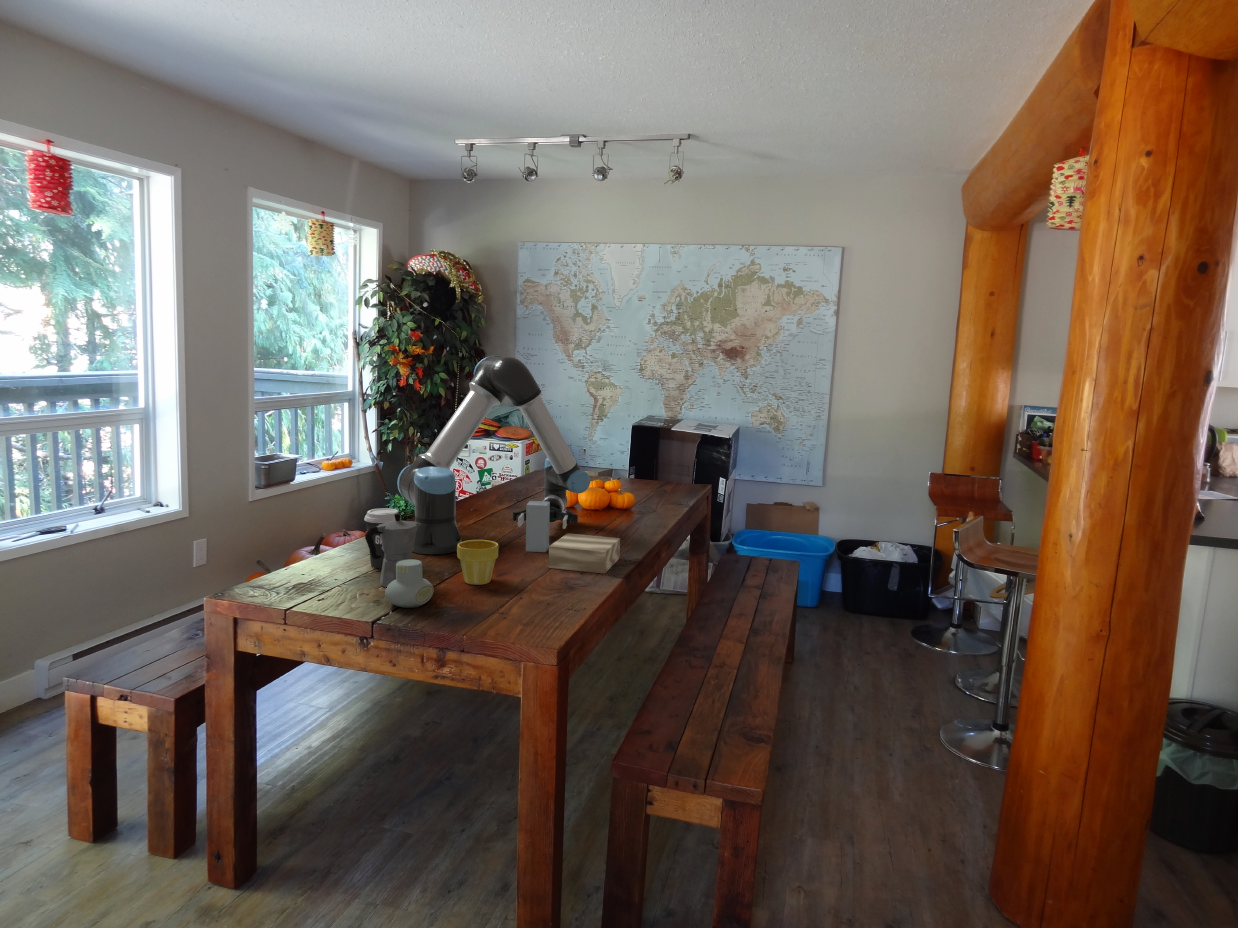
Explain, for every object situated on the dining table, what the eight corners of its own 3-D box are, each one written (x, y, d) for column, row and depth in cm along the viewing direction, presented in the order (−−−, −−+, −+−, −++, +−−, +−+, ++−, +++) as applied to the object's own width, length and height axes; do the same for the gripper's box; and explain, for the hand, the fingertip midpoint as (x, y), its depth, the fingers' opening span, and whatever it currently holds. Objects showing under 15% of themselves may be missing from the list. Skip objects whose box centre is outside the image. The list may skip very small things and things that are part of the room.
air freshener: (409, 613, 177) (409, 570, 175) (379, 608, 180) (379, 566, 178) (438, 599, 187) (438, 559, 185) (409, 594, 190) (408, 554, 188)
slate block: (545, 552, 232) (546, 505, 230) (525, 551, 233) (526, 504, 230) (548, 546, 238) (549, 501, 236) (529, 546, 238) (529, 500, 236)
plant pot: (480, 572, 210) (480, 537, 208) (506, 581, 203) (506, 544, 202) (448, 580, 202) (448, 543, 200) (475, 589, 195) (475, 551, 194)
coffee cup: (364, 571, 208) (363, 515, 206) (365, 561, 217) (364, 508, 215) (401, 569, 210) (401, 514, 208) (401, 559, 220) (401, 507, 217)
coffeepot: (411, 574, 207) (410, 506, 204) (431, 582, 200) (431, 513, 198) (356, 585, 195) (355, 515, 193) (376, 594, 189) (375, 521, 186)
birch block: (604, 573, 212) (605, 551, 211) (548, 567, 216) (548, 546, 215) (619, 558, 228) (620, 538, 227) (566, 553, 232) (567, 533, 231)
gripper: (588, 521, 257) (582, 537, 237) (513, 518, 259) (500, 533, 238) (589, 499, 256) (583, 512, 235) (513, 496, 258) (500, 509, 237)
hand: (541, 523), depth 236 cm, fingers open, 13 cm apart
